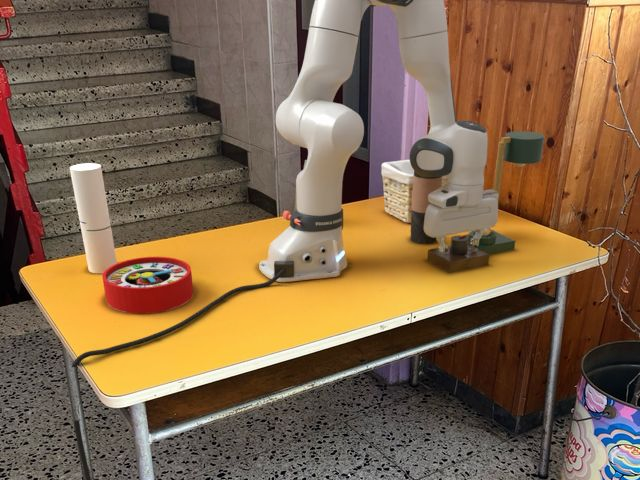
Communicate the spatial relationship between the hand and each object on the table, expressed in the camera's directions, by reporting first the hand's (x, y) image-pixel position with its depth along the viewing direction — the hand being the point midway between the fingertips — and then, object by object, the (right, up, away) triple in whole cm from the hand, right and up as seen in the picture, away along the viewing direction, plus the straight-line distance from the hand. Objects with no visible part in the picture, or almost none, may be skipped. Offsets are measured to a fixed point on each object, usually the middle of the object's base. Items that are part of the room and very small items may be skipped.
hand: (458, 248), depth 186 cm
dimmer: (0, -3, +2) cm, 4 cm away
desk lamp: (+17, +11, +16) cm, 26 cm away
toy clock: (-75, -15, -14) cm, 78 cm away
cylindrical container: (-90, -5, +1) cm, 91 cm away
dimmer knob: (0, -1, 0) cm, 1 cm away
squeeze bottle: (-39, +15, +30) cm, 51 cm away
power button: (+8, +5, +8) cm, 12 cm away
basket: (-3, +20, +38) cm, 43 cm away
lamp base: (+9, +3, +11) cm, 15 cm away
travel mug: (-7, +6, +17) cm, 20 cm away
